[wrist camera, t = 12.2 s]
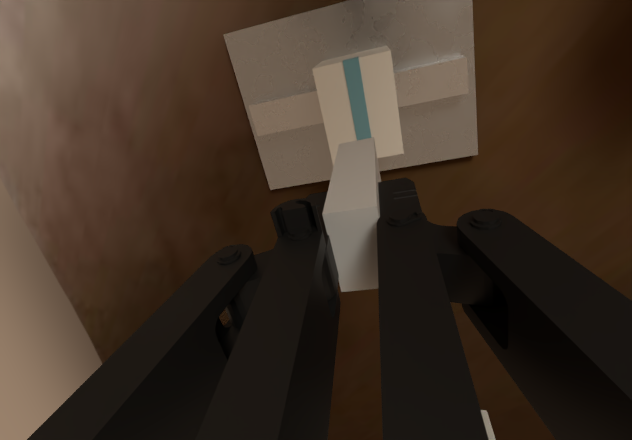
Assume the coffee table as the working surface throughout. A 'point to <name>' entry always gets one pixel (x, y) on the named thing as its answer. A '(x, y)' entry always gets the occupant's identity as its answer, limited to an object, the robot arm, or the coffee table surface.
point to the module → (360, 100)
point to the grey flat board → (347, 38)
